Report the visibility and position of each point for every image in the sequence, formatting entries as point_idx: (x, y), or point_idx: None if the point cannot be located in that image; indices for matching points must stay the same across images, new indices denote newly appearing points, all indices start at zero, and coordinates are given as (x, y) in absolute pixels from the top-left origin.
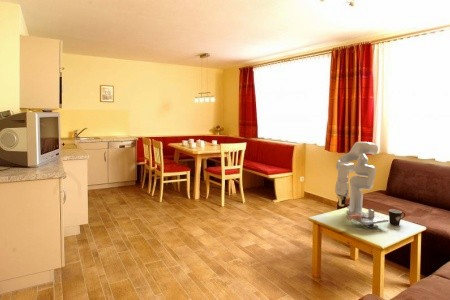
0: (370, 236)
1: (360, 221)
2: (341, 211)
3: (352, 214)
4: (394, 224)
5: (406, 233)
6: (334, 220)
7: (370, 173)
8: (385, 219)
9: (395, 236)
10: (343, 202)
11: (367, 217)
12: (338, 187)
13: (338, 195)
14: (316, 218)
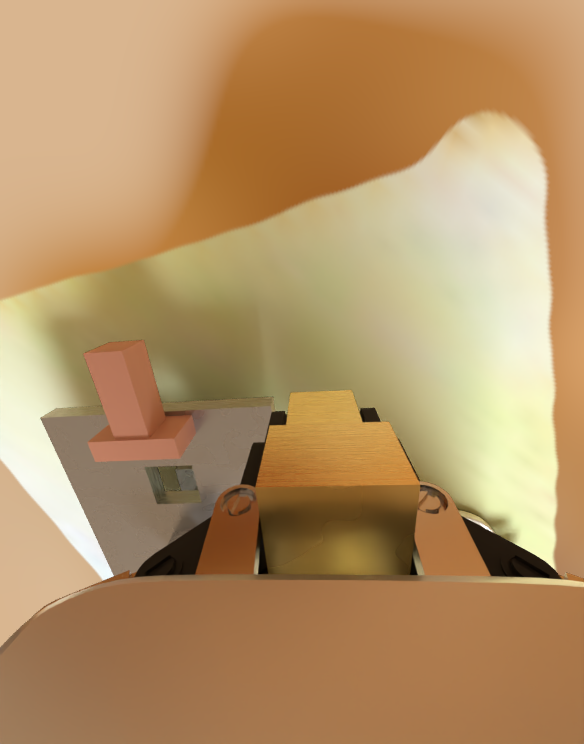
0: (36, 371)
1: (100, 411)
2: (522, 497)
3: None
4: None
5: (92, 562)
6: (377, 324)
7: None
8: None
9: (48, 496)
10: (251, 454)
11: (176, 513)
12: None
13: (379, 523)
14: (499, 172)
